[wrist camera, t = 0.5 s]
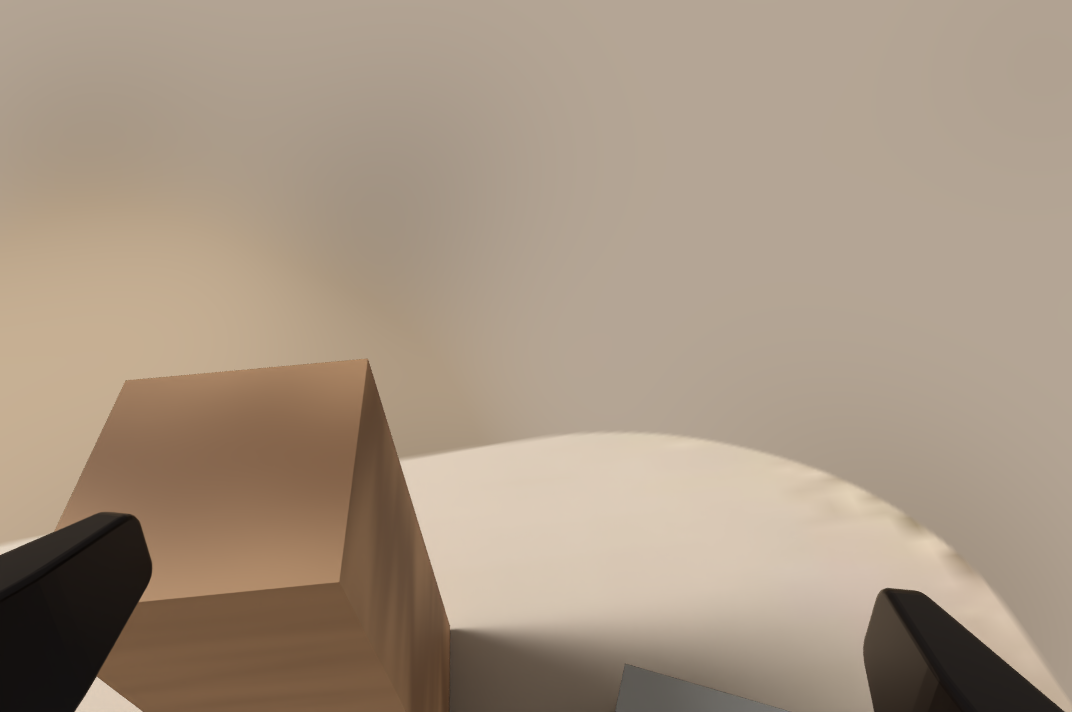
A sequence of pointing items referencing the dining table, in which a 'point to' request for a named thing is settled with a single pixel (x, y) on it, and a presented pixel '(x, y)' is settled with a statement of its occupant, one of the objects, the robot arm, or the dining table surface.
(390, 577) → the walnut pillar
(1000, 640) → the dining table surface
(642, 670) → the slate plinth
